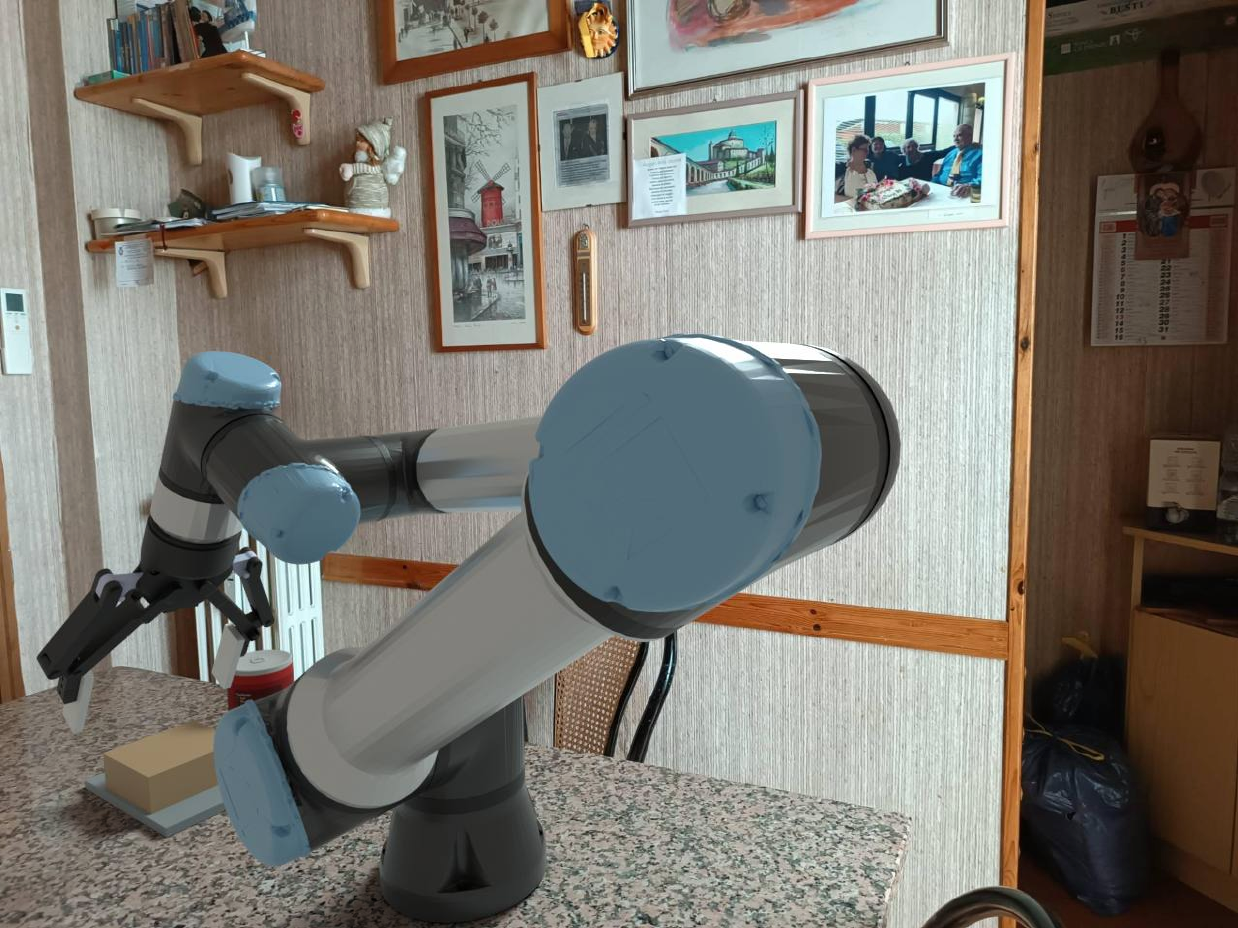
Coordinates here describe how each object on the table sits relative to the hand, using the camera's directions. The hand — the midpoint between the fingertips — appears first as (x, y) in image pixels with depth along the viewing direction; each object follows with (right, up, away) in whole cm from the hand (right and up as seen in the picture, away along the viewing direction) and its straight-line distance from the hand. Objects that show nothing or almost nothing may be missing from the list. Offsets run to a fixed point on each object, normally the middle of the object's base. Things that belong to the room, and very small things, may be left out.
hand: (151, 699), depth 78 cm
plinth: (-4, -14, +12) cm, 18 cm away
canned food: (+1, -13, +23) cm, 26 cm away
